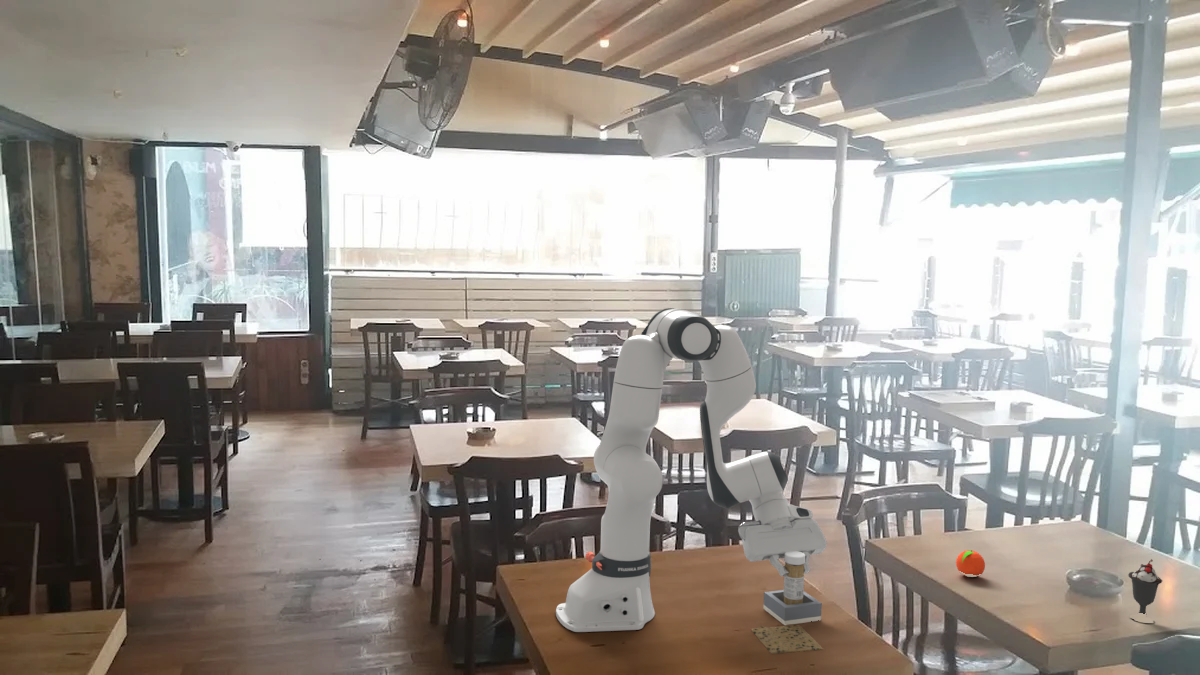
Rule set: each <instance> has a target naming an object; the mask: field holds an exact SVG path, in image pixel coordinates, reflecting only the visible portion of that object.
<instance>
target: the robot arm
mask: <svg viewBox="0 0 1200 675" xmlns="http://www.w3.org/2000/svg"><path fill="white" fill-rule="evenodd" d="M621 345H622V346H621V349H620V351H619V355H618V359H617V362H616V367H615V371H614V375H613V376H614V378H613V385H612V389H611V390H612V391H611V398H610V399H611V400H610V404H609V405H610V407H609V412H608V417H607V421H606V424H605V427H604V431H603V434H602V436H601V438H600V443H599V445H598V446H597V448H596V449H595V451H594V454H593V465H594V468H595V471H596V474H597V476H598V478H600V480H601V481H602V482H603V483H605V484H606V485H607V489H608V497H607V503H606V506H605V511H604V513H603V515H602V516H601V518H600V519H601V520H600V550H599V551H598V553H597V554H596V555H595V554H594V552H593V551H587V552H586V554H585V559H586V560H587V561H588V562H589V563H591V567H592V568H590V569H589V570H588V571H586V572H585V573H584V574H583V575H582V576H580V577H578V579H576V580H575V581H574V582H572V584H570V585H569V588H568V590H567V594H566V599H565V602H562V603H559V604H558V605H557V606H556V609H555V616H556V618H557V620H558V622H559V623H560V624H561V625H562V626H563V627H565V628H566V629H567V630H570V631H572V632H574V633H588V632H591V633H592V632H611V631H612V632H614V631H616V632H617V631H636V630H641V629H643V628H644V626H645V624H647V623H648V622H650V621H652V619H653V618H655V615H656V612H655V611H656V610H655V609H654V604H653V601H652V593H651V584H650V577H651V573H652V572H651V570H652V554H651V552H650V539H651V538H650V535H651V534H650V532H651V518H652V514H653V509H654V504H655V501H656V497H657V496H658V495H659V493H660V492H661V490H662V488H663V484H664V475H663V472H662V469H660V466H659V465H658V463H657V461H656V460H655V458H654V457H652V455H649V454H648V453H647V451H646V450H647V445H648V442H649V438H650V435H651V433H652V431H653V429H654V428H655V426H656V425H657V424H658V422H659V416H660V411H661V410H660V408H661V402H662V394H663V386H664V374H665V372H666V369H667V367H668V365H669V363H670V362H671V361H672V360H673V359H675V360H681V361H684V362H698V363H699V365H700V367H701V368H702V373H703V375H704V379H705V382H706V394H705V395H706V396H705V399H704V400H703V401H702V403H700V408H699V418H700V430H701V437H702V444H703V445H702V446H703V451H704V452H703V453H704V459H705V467H706V486H707V487H706V488H707V492H708V495H709V497H710V499H711V501H712V502H713V504H715V505H717V506H718V507H722V508H724V509H730V508H733V507H736V506H737V505H740V504H741V503H744V502H747V501H749V502H750V504H751V508H752V515H753V517H754V519H755V520H754V521H748V522H747V521H743V522H741V524H740V525H738V530H737V532H738V535H739V537H740V539H741V543H742V548H743V552H744V556H745V559H746V560H748V561H749V562H752V563H753V562H760V561H761V562H762V561H769V562H770V565H771V566H772V567H774V568H775V569H776V570H777V572H778V574H779V576H780V577H784V576H787V574H788V573H789V572H788V570H787V566H785V565H783V564H782V562H780V561H779V560H780V559H785V553H786V552H790V551H799V552H802V553H804V554H805V563H804V574H808V573H810V571H811V568H810V564H809V561H810V557H811V556H812V555H820V554H822V553H823V552H824V551H825V550H826V548H827V547H828V545H827V544H828V542H827V540H826V537H825V534H824V532H823V531H822V530H823V529H822V528H821V526H820V524H819V523H818V522H817V520H815V519H814V518H813V517H814V513H813V511H812V510H811V509H809V508H807V507H801V506H797V505H794V504H790V503H789V500H788V499H787V498H786V497H785V494H784V490H785V489H786V486H787V484H788V481H789V477H788V475H787V472H786V471H785V469H784V467H783V465H782V460H781V458H780V456H779V455H778V454H775V453H774V452H772V451H768V450H766V451H762V452H756V453H755V454H752V455H748V456H746V457H744V458H740V459H737V460H734V461H731V462H724V459H723V452H722V445H721V431H722V429H723V427H724V426H725V425H726V423H727V422H729V420H731V418H733V417H734V416H735V415H737V414H738V413H739V412H741V411H742V410H744V409H745V408H746V406H747V405H748V404H749V403H750V402H751V400H752V399H753V398H754V395H755V393H756V388H757V384H756V377H755V373H754V369H753V366H752V362H751V359H750V357H749V354H748V351H747V350H746V348H745V345H744V342H743V341H742V339H741V338H740V335H739V334H738V331H737V330H736V329H735V328H734V327H732V326H730V325H725V324H718V325H714V324H712V323H711V322H710V321H709V320H708V319H707V318H705V317H704V316H703V315H701V314H699V313H696V312H692V311H690V310H687V309H683V308H673V307H672V308H671V307H670V308H669V307H667V308H664V309H661V310H659V311H657V312H656V313H655V314H654V315H652V317H651V318H650V320H649V321H648V323H647V324H646V326H645V328H644V329H643V330H642V331H641V333H640V334H636V335H635V334H634V335H632V336H629V337H628V338H627V339H625V340H624V342H623V343H622V344H621Z"/></svg>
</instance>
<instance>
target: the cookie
mask: <svg viewBox="0 0 1200 675" xmlns="http://www.w3.org/2000/svg"><path fill="white" fill-rule="evenodd" d="M750 631H751V632H752V633H753V635H755V637H756V638H757V639H758V640H759V642H761V644H763V645H764V647H765V648H766V650H768V651H769V653H770V654H772V655H773V654H785V653H786V654H787V653H788V654H789V653H799V651H800V652H812V651H811V650H814V651H821V650H820V649H824V648H823V647H822V645H820V643H818V641H816V640H815V639H814V638H813V637H812V636H811V635H810V634H809V633H808V632H807V631H806V630H805V629H804V628H803V627H802V625H797V624H792V625H784V626H760V627H753V628H751V629H750ZM809 650H810V651H809Z"/></svg>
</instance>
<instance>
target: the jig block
mask: <svg viewBox="0 0 1200 675" xmlns="http://www.w3.org/2000/svg"><path fill="white" fill-rule="evenodd" d="M822 607H823V603H822V602H821V601H819V600H818V599H817V598H815V597H814V596H812V595H810V594H809V593H807V592H806V591H803V603H801V604H793V605H786V604H785V603H784V589H779V590H771V591H770V590H769V591H763V608H762V609H763V610H764V611H766V612H767V613H768V614H770V615H771V616H772V617H774V618H775V619H776V620H777V621H779V622H780V623H781V624H782V625H784V626H791V625H797V624H803V623H804V624H805V623H811V621H812V622H817V621H818V620H819V621H821V620H822ZM819 621H818V622H819Z"/></svg>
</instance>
